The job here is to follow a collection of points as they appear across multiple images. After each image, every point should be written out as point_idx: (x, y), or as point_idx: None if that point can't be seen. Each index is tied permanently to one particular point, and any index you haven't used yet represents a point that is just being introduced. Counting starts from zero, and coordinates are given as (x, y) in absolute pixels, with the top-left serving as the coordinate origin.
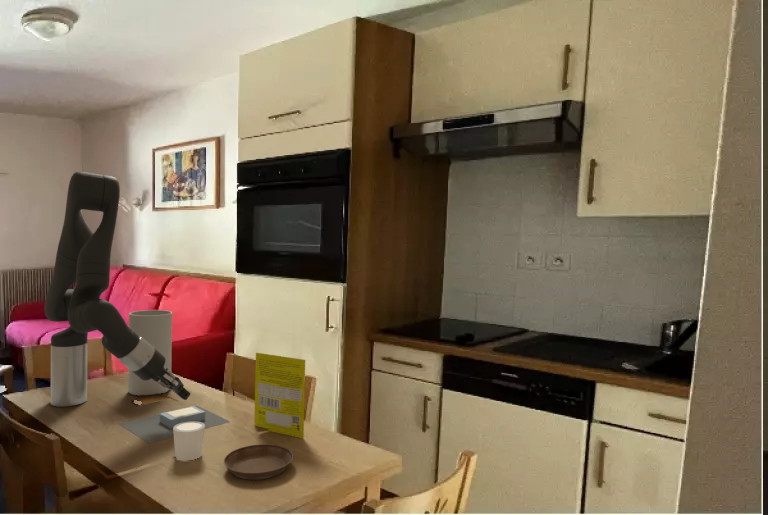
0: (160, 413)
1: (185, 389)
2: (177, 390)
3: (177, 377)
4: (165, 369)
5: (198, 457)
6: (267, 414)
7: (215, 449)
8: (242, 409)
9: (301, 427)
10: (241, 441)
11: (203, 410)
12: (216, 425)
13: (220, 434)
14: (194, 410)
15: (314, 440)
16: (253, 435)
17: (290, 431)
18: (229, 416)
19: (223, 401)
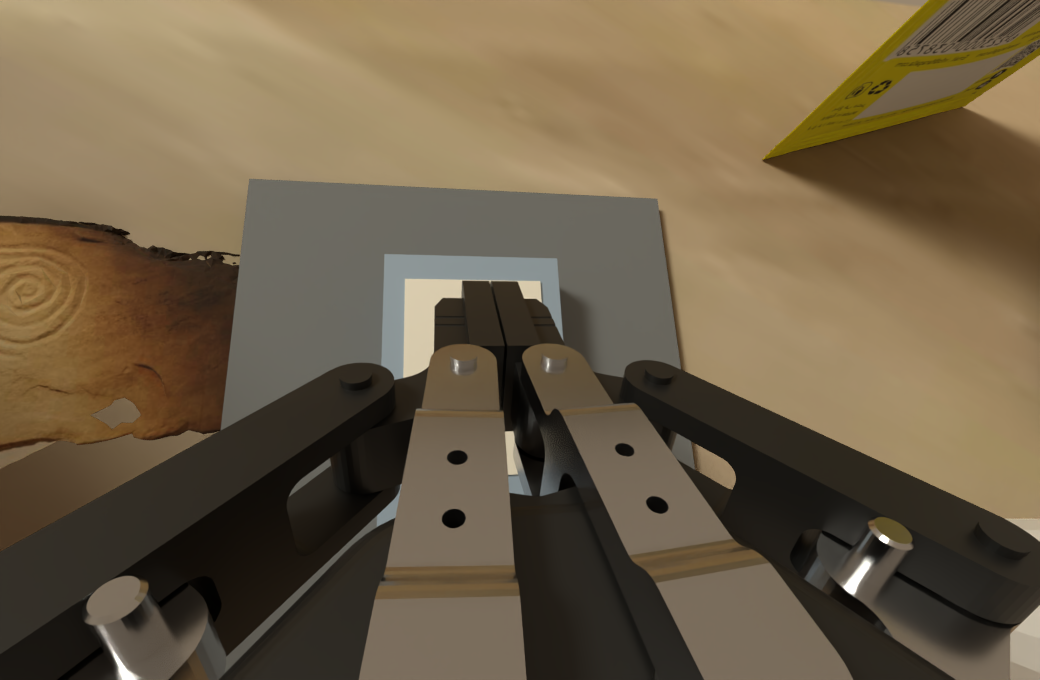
0: (378, 525)
1: (530, 316)
2: (707, 480)
3: (1017, 554)
4: (520, 669)
5: None
6: (901, 87)
7: (931, 437)
8: (478, 45)
9: (1007, 73)
10: (890, 295)
11: (373, 202)
12: (667, 281)
13: (762, 320)
14: None
15: (993, 93)
16: (847, 217)
17: (934, 105)
18: (538, 148)
19: (263, 26)
